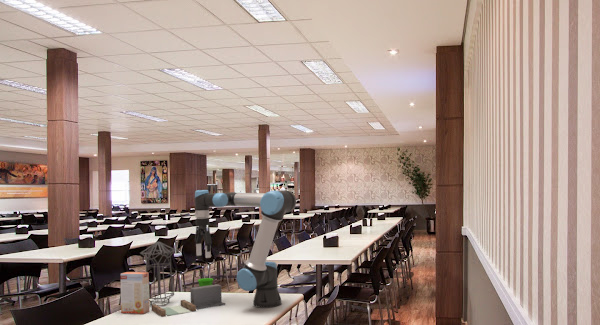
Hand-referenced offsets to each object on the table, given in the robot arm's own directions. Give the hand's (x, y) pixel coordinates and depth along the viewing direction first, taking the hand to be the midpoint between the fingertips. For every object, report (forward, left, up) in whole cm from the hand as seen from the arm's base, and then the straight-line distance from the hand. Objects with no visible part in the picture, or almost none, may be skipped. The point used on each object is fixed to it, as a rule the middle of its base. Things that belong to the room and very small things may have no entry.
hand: (203, 256), depth 283 cm
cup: (+16, -7, -27) cm, 32 cm away
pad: (-1, +18, -26) cm, 32 cm away
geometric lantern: (+20, +19, -27) cm, 38 cm away
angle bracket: (-2, -1, -27) cm, 27 cm away
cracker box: (+9, +35, -27) cm, 45 cm away
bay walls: (-1, +18, -26) cm, 32 cm away
